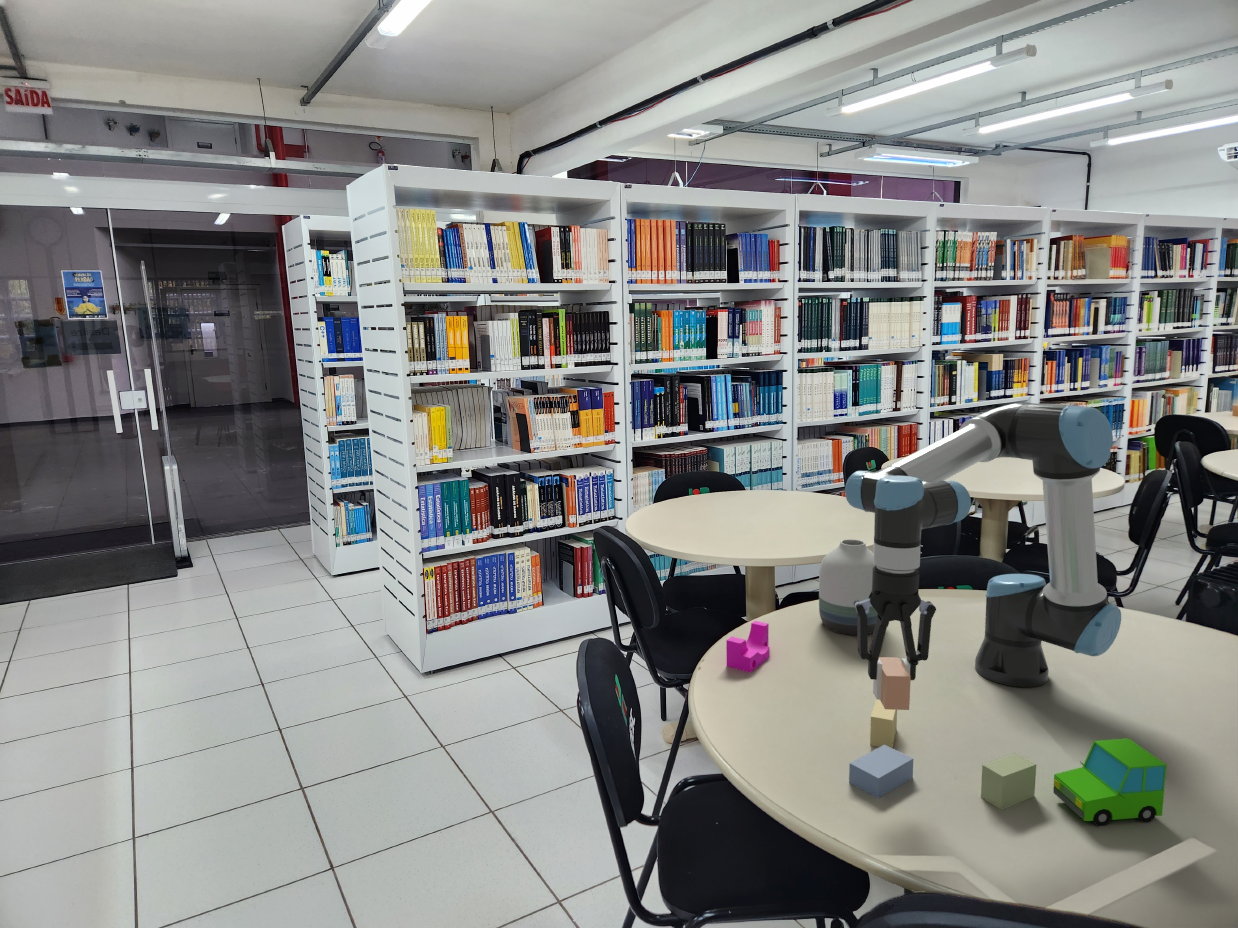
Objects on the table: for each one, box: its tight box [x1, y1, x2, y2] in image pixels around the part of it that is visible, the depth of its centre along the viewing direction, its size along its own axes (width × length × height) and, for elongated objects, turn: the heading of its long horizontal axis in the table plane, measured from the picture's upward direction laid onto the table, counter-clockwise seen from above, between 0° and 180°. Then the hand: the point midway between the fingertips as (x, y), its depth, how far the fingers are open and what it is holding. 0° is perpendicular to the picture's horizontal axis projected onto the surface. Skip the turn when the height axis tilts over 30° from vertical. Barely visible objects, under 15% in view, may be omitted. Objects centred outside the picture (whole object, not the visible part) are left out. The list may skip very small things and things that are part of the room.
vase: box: [818, 538, 877, 636], centre depth 204 cm, size 17×17×24 cm
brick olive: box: [980, 752, 1037, 810], centre depth 129 cm, size 8×4×6 cm, turn 114°
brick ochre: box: [869, 698, 898, 749], centre depth 150 cm, size 8×4×6 cm, turn 154°
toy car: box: [1052, 738, 1167, 827], centre depth 125 cm, size 10×13×10 cm
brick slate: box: [848, 745, 914, 799], centre depth 136 cm, size 10×6×4 cm, turn 126°
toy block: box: [725, 620, 770, 674], centre depth 187 cm, size 15×6×8 cm, turn 144°
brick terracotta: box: [879, 656, 912, 711], centre depth 133 cm, size 8×4×6 cm, turn 175°
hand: (890, 695), depth 134 cm, fingers closed on brick terracotta, 4 cm apart
